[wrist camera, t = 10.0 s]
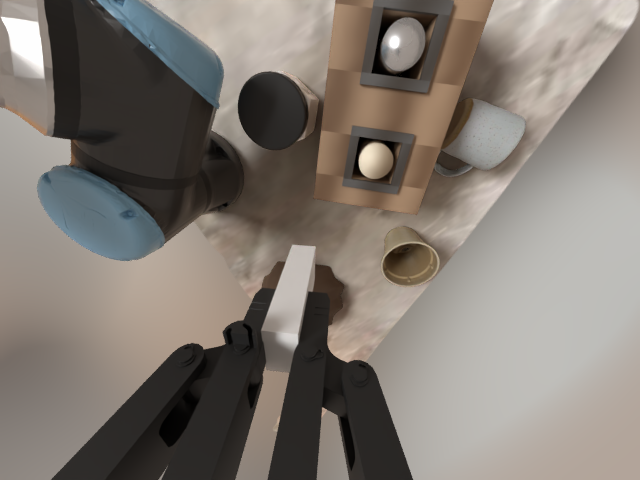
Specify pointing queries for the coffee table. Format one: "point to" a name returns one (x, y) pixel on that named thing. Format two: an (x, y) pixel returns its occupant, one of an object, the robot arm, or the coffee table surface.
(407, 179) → the walnut block
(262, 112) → the jar
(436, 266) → the flower pot
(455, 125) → the ceramic mug
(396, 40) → the peg steel
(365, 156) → the peg ash
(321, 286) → the decorative dome
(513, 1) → the coffee table surface
